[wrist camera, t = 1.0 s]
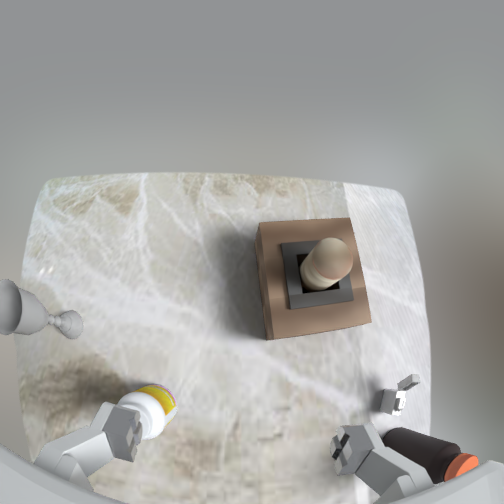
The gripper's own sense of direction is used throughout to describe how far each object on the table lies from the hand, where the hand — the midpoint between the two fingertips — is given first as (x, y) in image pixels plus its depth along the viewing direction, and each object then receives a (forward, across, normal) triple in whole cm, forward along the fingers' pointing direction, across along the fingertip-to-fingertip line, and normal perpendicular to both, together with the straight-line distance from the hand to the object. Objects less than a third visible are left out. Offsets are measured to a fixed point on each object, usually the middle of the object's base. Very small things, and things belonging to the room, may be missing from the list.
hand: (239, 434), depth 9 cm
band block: (+35, +11, -5) cm, 37 cm away
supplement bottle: (+24, -10, -24) cm, 35 cm away
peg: (+30, +10, -2) cm, 32 cm away
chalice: (+30, -28, -16) cm, 43 cm away
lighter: (+25, +28, -20) cm, 43 cm away
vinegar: (+20, +31, -29) cm, 47 cm away
